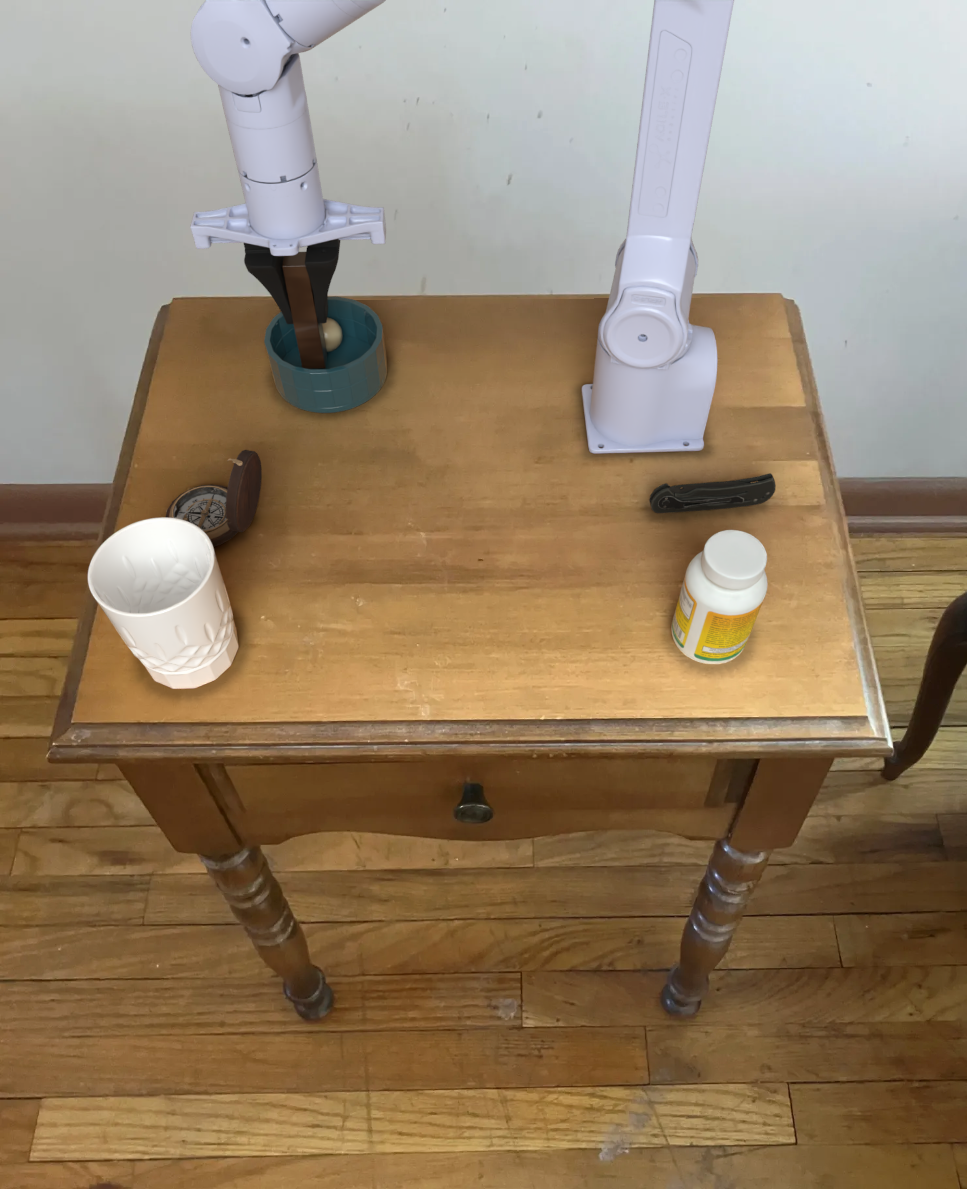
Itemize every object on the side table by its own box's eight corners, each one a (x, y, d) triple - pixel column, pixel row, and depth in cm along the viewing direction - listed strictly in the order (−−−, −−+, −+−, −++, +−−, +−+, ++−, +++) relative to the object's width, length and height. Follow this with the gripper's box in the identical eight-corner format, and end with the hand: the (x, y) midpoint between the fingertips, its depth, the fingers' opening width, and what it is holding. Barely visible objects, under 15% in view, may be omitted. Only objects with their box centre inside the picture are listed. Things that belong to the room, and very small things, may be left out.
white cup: (224, 706, 67) (186, 625, 59) (117, 687, 68) (65, 604, 60) (262, 613, 71) (232, 526, 63) (161, 597, 72) (119, 508, 64)
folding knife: (767, 496, 77) (776, 470, 75) (772, 508, 76) (781, 482, 74) (646, 507, 77) (651, 481, 74) (650, 519, 76) (655, 494, 73)
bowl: (389, 335, 89) (384, 294, 86) (385, 411, 83) (380, 371, 80) (280, 338, 89) (271, 297, 86) (268, 415, 83) (258, 374, 80)
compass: (181, 487, 78) (155, 422, 73) (276, 498, 78) (258, 433, 72) (146, 565, 74) (116, 502, 68) (246, 577, 73) (224, 514, 67)
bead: (347, 349, 88) (346, 315, 87) (336, 356, 85) (335, 322, 84) (315, 346, 88) (314, 313, 87) (304, 354, 86) (302, 319, 84)
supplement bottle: (655, 637, 69) (675, 554, 62) (699, 592, 72) (724, 507, 64) (717, 681, 67) (746, 601, 59) (761, 633, 70) (794, 550, 62)
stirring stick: (327, 354, 85) (309, 251, 77) (325, 368, 83) (307, 265, 76) (304, 354, 85) (284, 251, 77) (302, 369, 83) (281, 266, 76)
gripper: (166, 196, 67) (213, 350, 79) (375, 190, 68) (392, 345, 79) (182, 141, 72) (225, 295, 83) (379, 136, 72) (395, 290, 83)
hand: (307, 316), depth 81 cm, fingers closed on stirring stick, 2 cm apart
